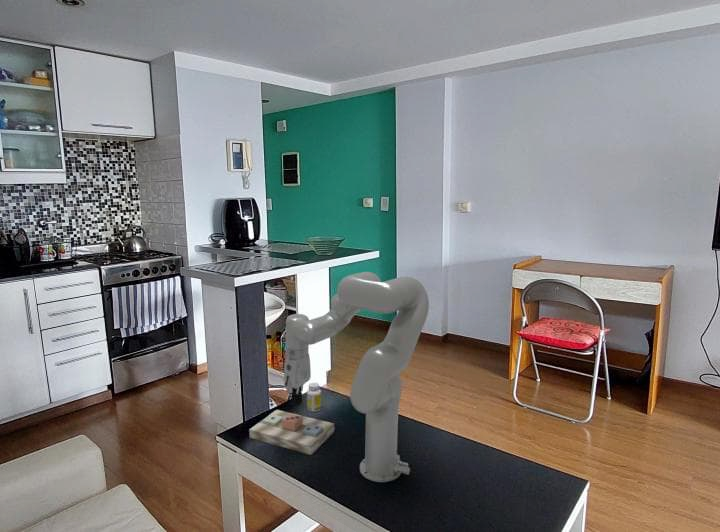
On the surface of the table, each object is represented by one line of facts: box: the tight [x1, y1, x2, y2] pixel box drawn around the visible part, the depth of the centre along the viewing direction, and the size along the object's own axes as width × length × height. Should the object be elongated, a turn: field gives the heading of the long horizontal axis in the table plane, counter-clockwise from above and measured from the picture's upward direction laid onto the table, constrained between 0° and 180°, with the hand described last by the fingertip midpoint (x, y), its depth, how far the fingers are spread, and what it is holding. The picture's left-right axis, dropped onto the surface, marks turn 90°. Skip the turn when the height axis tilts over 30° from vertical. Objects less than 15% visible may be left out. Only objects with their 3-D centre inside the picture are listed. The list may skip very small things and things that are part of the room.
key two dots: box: [302, 424, 323, 437], centre depth 154 cm, size 5×5×3 cm
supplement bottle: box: [306, 382, 322, 413], centre depth 176 cm, size 5×5×10 cm
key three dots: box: [282, 413, 303, 431], centre depth 157 cm, size 5×5×3 cm
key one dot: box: [262, 413, 283, 427], centre depth 161 cm, size 5×5×3 cm
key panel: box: [248, 409, 335, 456], centre depth 158 cm, size 24×16×3 cm, turn 66°
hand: (296, 402), depth 155 cm, fingers closed
